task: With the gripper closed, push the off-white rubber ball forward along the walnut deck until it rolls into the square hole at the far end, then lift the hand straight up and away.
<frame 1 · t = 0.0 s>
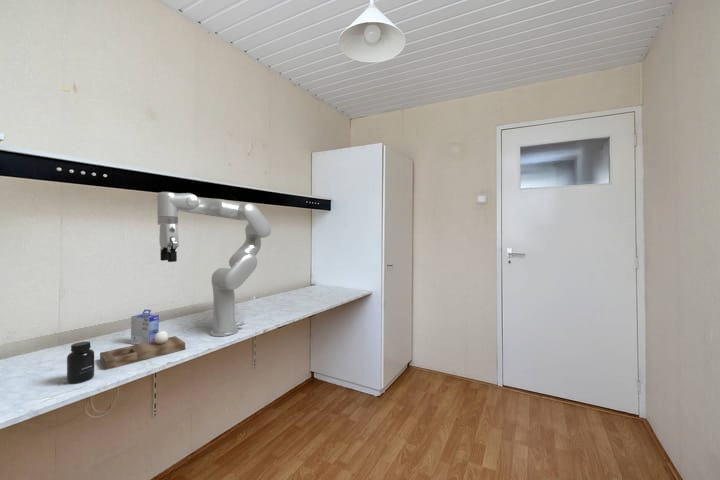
hand: (168, 261, 134), 37 cm above the countertop, tool pointing down, fingers open, 9 cm apart
deck: (144, 354, 125), on the countertop
ball: (161, 337, 129), point 5 cm above the countertop, touching deck
ink cartridge box: (145, 343, 139), on the countertop
supplement bottle: (81, 379, 104), on the countertop
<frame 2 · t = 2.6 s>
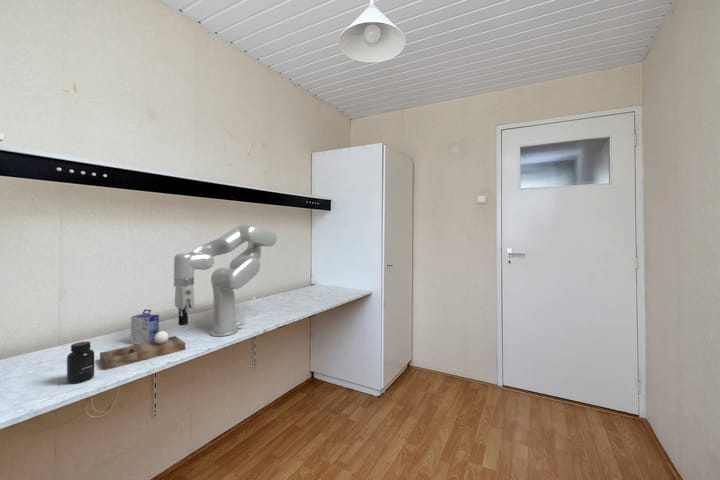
hand: (183, 324, 135), 9 cm above the countertop, tool pointing down, fingers closed
nothing on the countertop moved.
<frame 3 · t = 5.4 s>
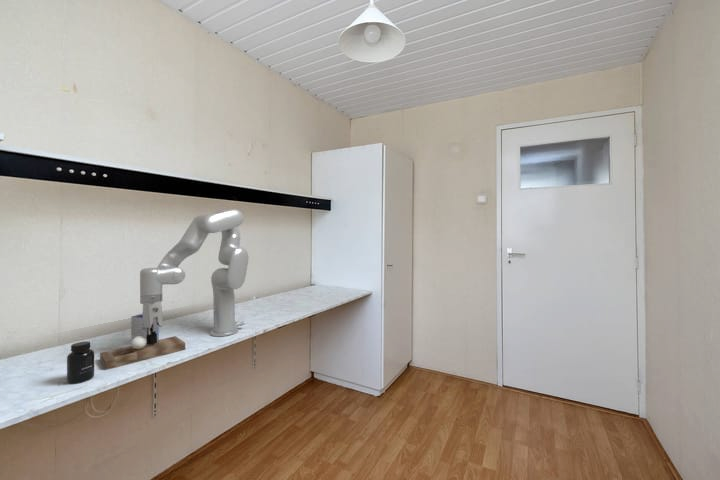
hand: (151, 343, 127), 4 cm above the countertop, tool pointing down, fingers closed
ball: (139, 342, 123), point 5 cm above the countertop, tilted 177°, touching deck
everything else where it was.
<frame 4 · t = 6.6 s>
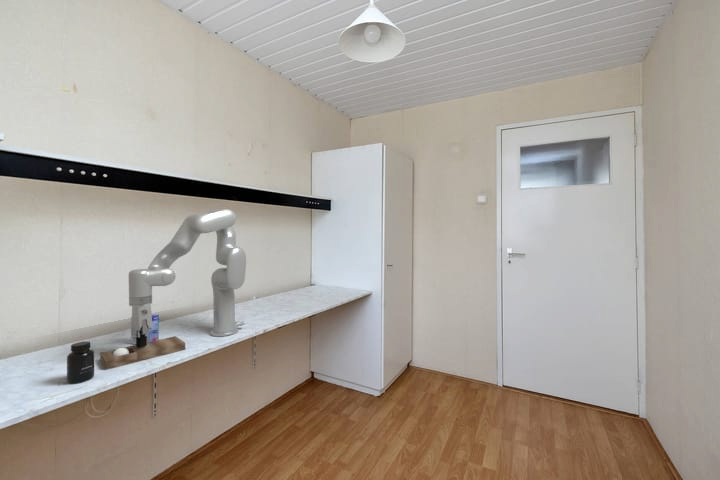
hand: (141, 346, 124), 4 cm above the countertop, tool pointing down, fingers closed
ball: (120, 354, 119), point 2 cm above the countertop, tilted 12°
everything else where it was.
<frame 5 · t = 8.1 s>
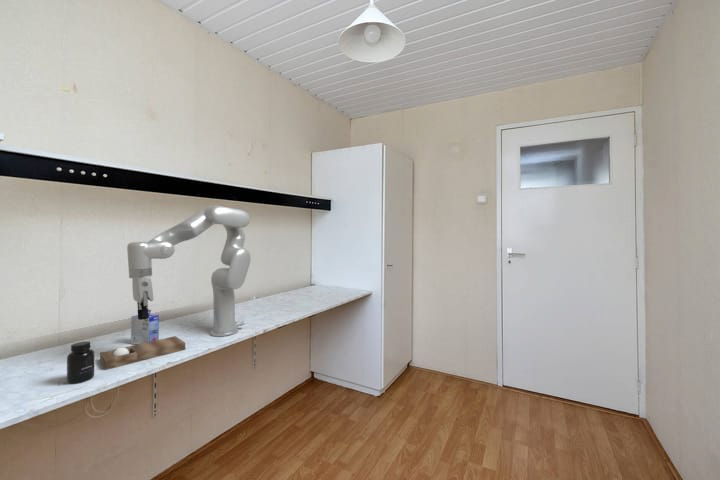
hand: (143, 318, 124), 15 cm above the countertop, tool pointing down, fingers closed
nothing on the countertop moved.
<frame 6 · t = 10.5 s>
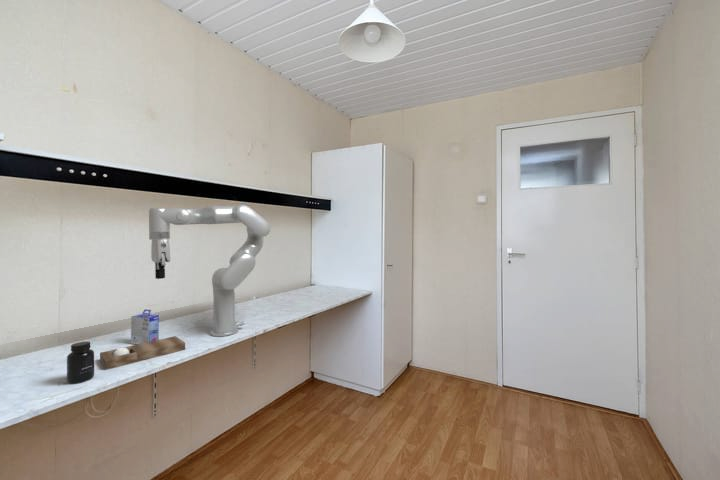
hand: (160, 278, 135), 29 cm above the countertop, tool pointing down, fingers closed
nothing on the countertop moved.
at the end: ball 0.8 cm from the target spot on the deck, point 2.5 cm above the deck's base; ball moved 13.9 cm from its start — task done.
